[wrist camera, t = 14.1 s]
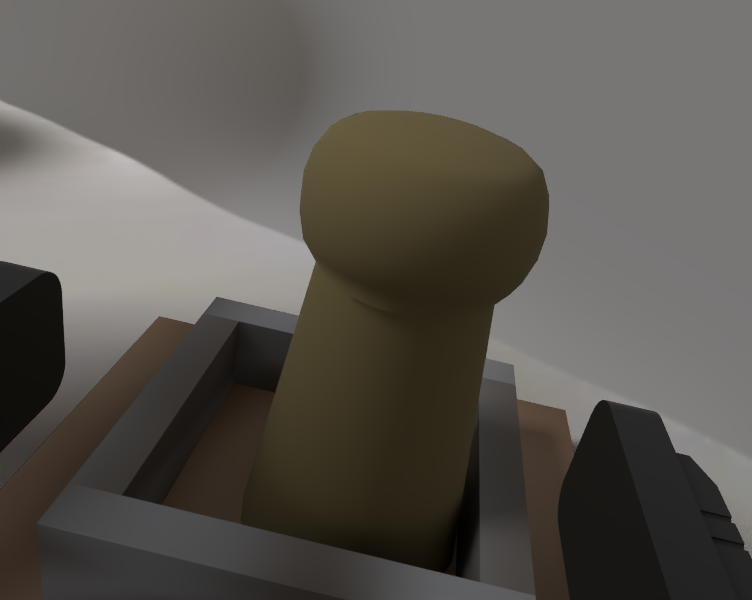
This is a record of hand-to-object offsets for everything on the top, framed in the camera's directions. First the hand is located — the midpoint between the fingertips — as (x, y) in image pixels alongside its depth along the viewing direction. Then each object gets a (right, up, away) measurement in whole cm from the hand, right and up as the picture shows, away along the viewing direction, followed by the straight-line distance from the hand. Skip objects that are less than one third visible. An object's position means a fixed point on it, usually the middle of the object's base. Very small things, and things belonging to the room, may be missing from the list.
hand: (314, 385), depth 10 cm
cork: (0, -5, +9) cm, 10 cm away
